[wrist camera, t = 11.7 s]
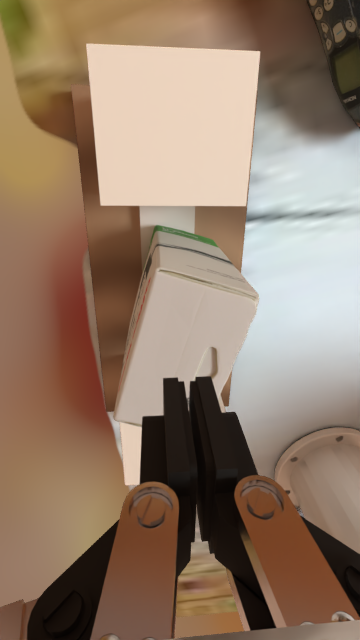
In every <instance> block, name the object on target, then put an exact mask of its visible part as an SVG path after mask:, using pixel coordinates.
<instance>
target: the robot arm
mask: <svg viewBox="0 0 360 640" xmlns="http://www.w3.org/2000/svg"><path fill="white" fill-rule="evenodd" d="M274 478H275V481H274V480H272V479H270V478H268V477H265V476H260V475H258V473H257V470H256V468H255V465H254V462H253V459H252V456H251V453H250V451H249V448H248V445H247V442H246V439H245V437H244V434H243V431H242V428H241V425H240V423H239V420H238V417H237V415H236V413H235V412H223V413H222V412H221V408H220V405H219V402H218V398H217V395H216V391H215V388H214V385H213V381H212V378H211V376H202V377H195V381H190V391H189V410H188V403H187V397H186V390H185V384H184V381H178V377H175V378H163V415H159V416H143V417H142V436H141V460H140V485H138V486H136V487H135V488H134V489H132V490H131V491H130V493H129V494H128V495H127V496H126V499H125V501H124V503H123V507H122V511H121V515H120V519H119V520H118V521H117V522H116V523H115V524H114V525H113V526H112V527H111V528H110V529H109V530H108V531H107V532H105V534H103V536H101V538H99V539H98V540H97V541H96V542H95V543H94V544H93V545H92V546H91V547H90V548H89V549H88V550H87V551H86V552H85V553H84V554H83V555H82V556H81V557H79V558H78V559H77V560H76V561H75V562H74V563H73V564H72V565H71V566H70V567H69V568H68V569H67V570H66V571H65V572H64V573H63V574H62V575H61V576H60V577H59V578H57V579H56V580H55V581H54V582H53V583H52V584H51V585H50V586H49V587H48V588H47V589H46V590H45V591H44V593H43V594H42V595H41V596H40V597H39V598H37V599H35V600H32V601H29V602H26V603H24V600H23V599H22V600H19V601H16V602H13V603H10V604H8V605H5V606H2V607H0V640H360V431H358V430H355V429H351V428H344V427H343V428H328V429H323V430H320V431H316V432H313V433H311V434H309V435H307V436H304V437H303V438H301V439H299V440H298V441H296V442H295V443H294V444H292V445H291V446H290V447H289V448H288V449H287V450H286V451H285V452H284V454H283V455H282V456H281V458H280V459H279V461H278V463H277V465H276V469H275V476H274ZM196 504H197V512H198V519H199V526H200V534H201V540H202V542H203V541H208V544H209V551H210V554H212V553H215V558H216V559H217V560H218V561H219V562H220V563H221V564H223V565H224V566H225V567H226V573H227V577H228V581H229V584H230V587H231V590H232V593H233V596H234V600H235V603H236V606H237V609H238V612H239V616H240V619H241V622H242V625H243V628H244V632H233V633H224V634H214V635H204V636H194V637H184V638H175V622H176V606H177V589H178V576H179V575H180V573H181V572H182V571H183V569H184V568H185V567H186V565H187V564H188V563H189V561H190V555H191V542H194V541H195V521H196ZM294 505H295V506H298V507H300V508H301V511H302V513H303V515H304V517H305V518H303V517H302V516H300V515H299V513H298V511H297V510H296V508H295V506H294Z"/></svg>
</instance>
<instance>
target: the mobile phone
mask: <svg viewBox="0 0 360 640" xmlns="http://www.w3.org/2000/svg"><path fill="white" fill-rule="evenodd" d="M307 2H308V5H309V7H310V10H311V13H312V15H313V18H314V20H315V23H316V26H317V28H318V31H319V34H320V37H321V41H322V44H323V47H324V50H325V53H326V57H327V61H328V64H329V68H330V71H331V75H332V82H333V85H334V87H335V89H336V91H337V93H338V96H339V98H340V100H341V102H342V104H343V106H344V107H345V109H346V110H347V112H348V113H349V114H350V115H351V117H352V118H353V120H354V121H355V123H356V124H357V126H358V127H359V128H360V0H307Z"/></svg>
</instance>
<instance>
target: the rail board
mask: <svg viewBox="0 0 360 640" xmlns="http://www.w3.org/2000/svg"><path fill="white" fill-rule="evenodd" d="M71 90H72V99H73V108H74V117H75V127H76V136H77V145H78V154H79V163H80V173H81V182H82V191H83V200H84V210H85V219H86V228H87V237H88V247H89V256H90V265H91V274H92V283H93V293H94V302H95V311H96V320H97V330H98V339H99V348H100V357H101V367H102V376H103V385H104V394H105V403H106V412H111V411H114V410H115V404H116V399H117V393H118V388H119V382H120V376H121V370H122V365H123V358H124V353H125V347H126V342H127V336H128V331H129V325H130V320H131V316H132V312H133V308H134V304H135V300H136V296H137V293H138V289H139V285H140V281H141V277H142V273H143V269H144V265H145V261H146V257H147V253H148V250H149V246H150V242H151V238H152V234H153V230H154V227H155V226H156V225H160V226H165V227H170V228H174V229H178V230H182V231H186V232H189V233H193V234H196V235H199V236H203V237H206V238H209V239H212V240H214V242H215V243H216V244H217V246H218V247H219V248H220V249H221V250H222V252H223V253H224V254H225V255H226V256H227V258H228V259H229V260H230V261H231V263H232V264H233V265H234V266H235V268H236V269H237V270H238V271H239V272H240V273H241V266H242V255H243V244H244V233H245V222H246V212H247V202H246V206H101V204H100V194H99V183H98V172H97V161H96V149H95V138H94V127H93V115H92V104H91V93H90V85H77V84H71ZM257 93H258V91H257ZM257 93H256V104H257ZM256 104H255V115H256ZM255 115H254V125H255ZM253 136H254V126H253ZM252 147H253V137H252ZM251 158H252V148H251ZM251 158H250V169H251ZM250 169H249V179H250ZM248 190H249V180H248ZM247 201H248V191H247ZM231 374H232V371H231V373H230V375H229V378H228V380H227V381H226V383H225V385H224V387H223V389H222V392H221V394H220V395H221V398H222V401H223V404H224V406H229V395H230V384H231Z"/></svg>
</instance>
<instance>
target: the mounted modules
mask: <svg viewBox="0 0 360 640" xmlns="http://www.w3.org/2000/svg"><path fill="white" fill-rule="evenodd" d="M86 45H87V57H88V68H89V81H90V93H91V104H92V115H93V127H94V138H95V149H96V161H97V172H98V183H99V194H100V204H101V206H246V202H247V191H248V180H249V169H250V158H251V148H252V137H253V126H254V115H255V104H256V93H257V82H258V71H259V60H260V51H243V50H220V49H197V48H174V47H151V46H128V45H105V44H86ZM218 402H219V405H220V408H221V412H222V413H223V412H226V411H225V407H224V404H223V401H222V398H221V395H220V397H219V400H218ZM120 433H121V444H122V456H123V466H124V477H125V485H139V484H140V460H141V436H142V427H137V426H133V425H129V424H125V423H121V422H120Z"/></svg>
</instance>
